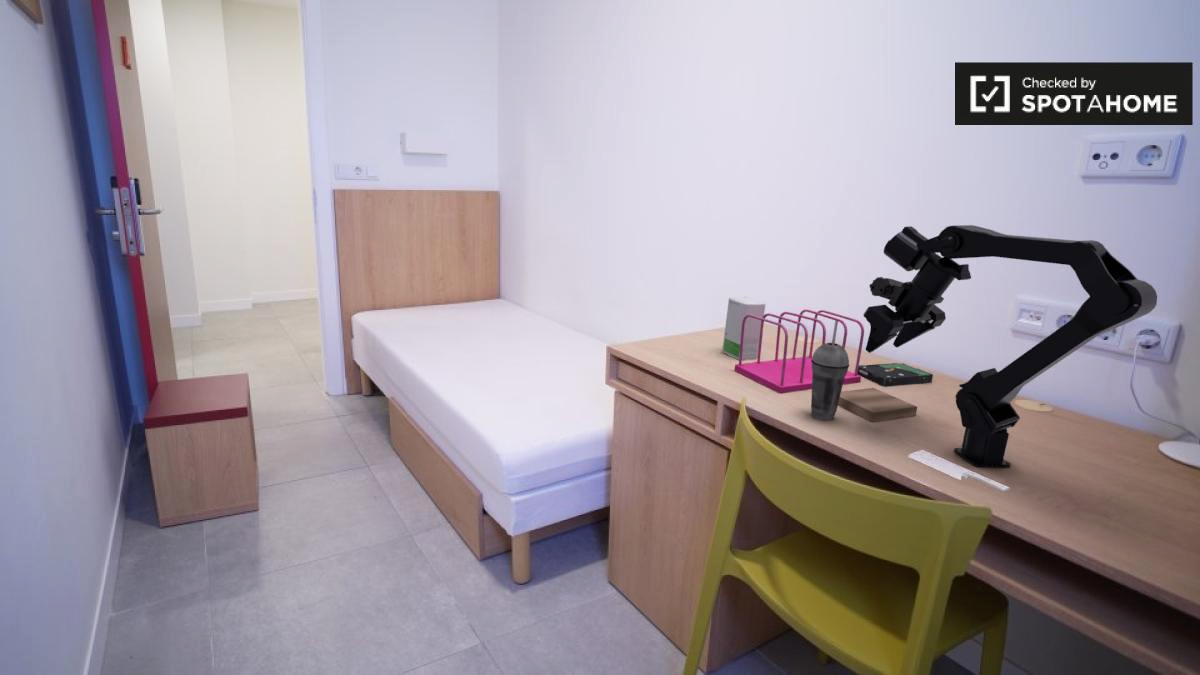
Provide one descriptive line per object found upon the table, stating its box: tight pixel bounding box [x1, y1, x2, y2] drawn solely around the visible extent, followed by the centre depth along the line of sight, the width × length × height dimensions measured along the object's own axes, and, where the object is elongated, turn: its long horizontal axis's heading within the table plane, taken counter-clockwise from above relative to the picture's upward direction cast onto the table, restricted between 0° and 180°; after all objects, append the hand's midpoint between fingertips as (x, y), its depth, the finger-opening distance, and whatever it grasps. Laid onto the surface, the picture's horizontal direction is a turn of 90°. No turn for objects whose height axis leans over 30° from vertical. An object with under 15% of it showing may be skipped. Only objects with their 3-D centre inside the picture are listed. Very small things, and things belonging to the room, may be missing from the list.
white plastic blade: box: [907, 449, 1011, 493], centre depth 102 cm, size 5×15×1 cm, turn 28°
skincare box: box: [721, 296, 766, 361], centre depth 164 cm, size 8×7×16 cm
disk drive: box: [857, 362, 934, 388], centre depth 152 cm, size 10×3×15 cm
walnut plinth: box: [838, 387, 918, 423], centre depth 130 cm, size 12×12×2 cm
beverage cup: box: [810, 320, 850, 422], centre depth 122 cm, size 7×7×20 cm
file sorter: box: [734, 309, 865, 394], centre depth 148 cm, size 17×25×16 cm
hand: (881, 348), depth 122 cm, fingers open, 9 cm apart
